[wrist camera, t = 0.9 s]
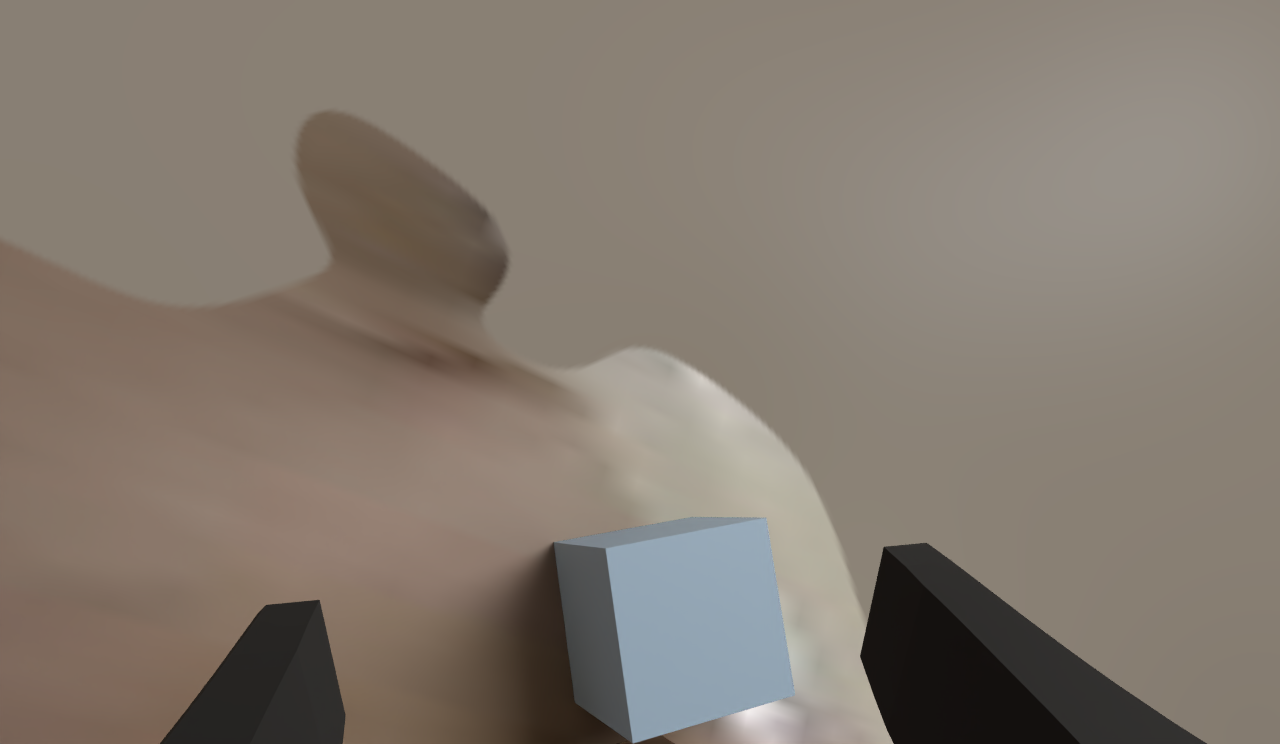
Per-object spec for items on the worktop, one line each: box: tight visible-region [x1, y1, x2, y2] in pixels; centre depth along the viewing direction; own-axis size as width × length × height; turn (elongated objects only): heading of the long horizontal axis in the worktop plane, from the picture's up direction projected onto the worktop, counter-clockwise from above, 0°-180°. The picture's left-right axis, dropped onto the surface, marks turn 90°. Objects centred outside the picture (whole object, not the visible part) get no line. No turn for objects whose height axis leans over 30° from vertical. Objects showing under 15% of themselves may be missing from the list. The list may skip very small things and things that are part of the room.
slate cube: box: [554, 517, 795, 743], centre depth 24 cm, size 5×5×5 cm
